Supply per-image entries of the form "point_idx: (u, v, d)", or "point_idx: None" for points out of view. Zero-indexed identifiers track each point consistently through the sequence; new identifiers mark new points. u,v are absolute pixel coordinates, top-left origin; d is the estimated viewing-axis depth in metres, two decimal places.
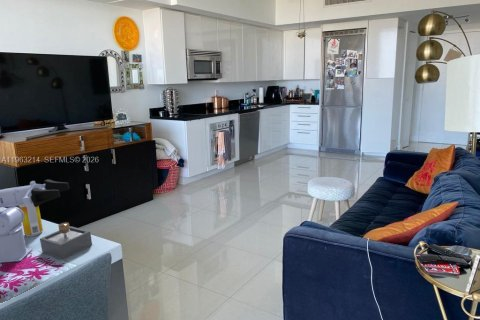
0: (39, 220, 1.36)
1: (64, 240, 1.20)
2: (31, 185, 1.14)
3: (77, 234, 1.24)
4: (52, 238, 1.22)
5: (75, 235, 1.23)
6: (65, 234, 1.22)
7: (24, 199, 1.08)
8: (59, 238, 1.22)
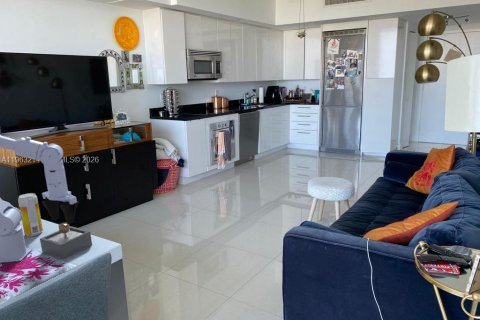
0: (39, 220, 1.36)
1: (64, 240, 1.20)
2: None
3: (77, 234, 1.24)
4: (52, 238, 1.22)
5: (75, 235, 1.23)
6: (65, 234, 1.22)
7: (75, 199, 1.17)
8: (59, 238, 1.22)
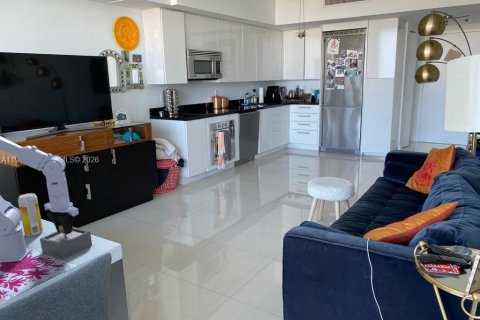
0: (39, 220, 1.36)
1: (64, 240, 1.20)
2: (71, 204, 1.22)
3: (77, 234, 1.24)
4: (52, 238, 1.22)
5: (75, 235, 1.23)
6: (65, 234, 1.22)
7: (77, 210, 1.18)
8: (59, 238, 1.22)
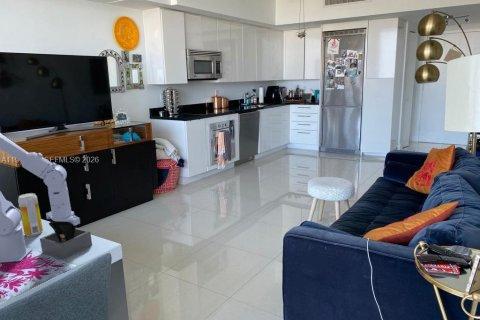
0: (39, 220, 1.36)
1: None
2: (72, 213, 1.23)
3: None
4: None
5: None
6: None
7: (78, 220, 1.18)
8: None
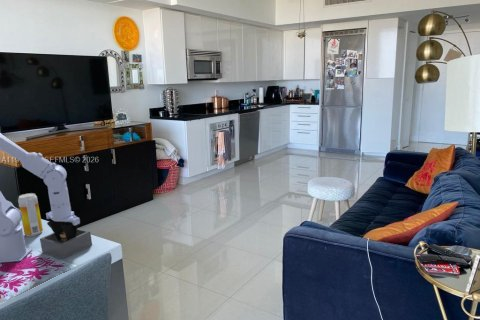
0: (39, 220, 1.36)
1: None
2: (72, 213, 1.23)
3: None
4: None
5: None
6: None
7: (78, 220, 1.18)
8: None
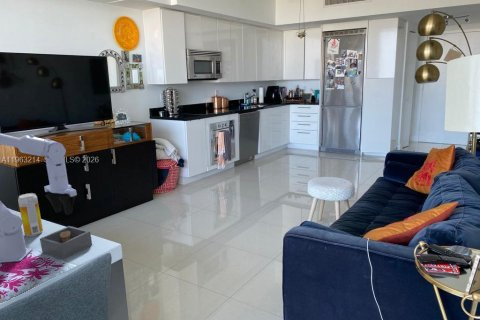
0: (39, 220, 1.36)
1: None
2: (69, 186, 1.29)
3: None
4: None
5: None
6: None
7: (75, 191, 1.24)
8: None
